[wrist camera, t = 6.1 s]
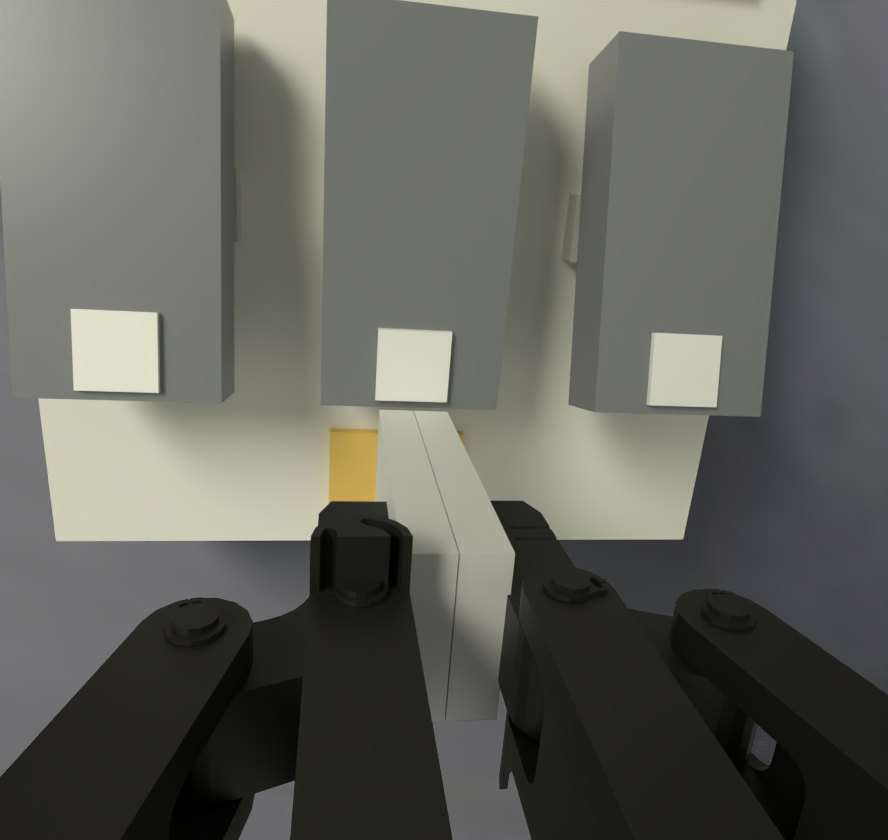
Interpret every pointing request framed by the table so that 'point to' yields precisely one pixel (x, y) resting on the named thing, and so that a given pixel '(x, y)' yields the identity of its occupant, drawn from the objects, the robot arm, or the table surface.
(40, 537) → the table surface
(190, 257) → the block
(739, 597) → the robot arm
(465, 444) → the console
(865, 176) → the table surface
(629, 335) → the block
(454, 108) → the block
